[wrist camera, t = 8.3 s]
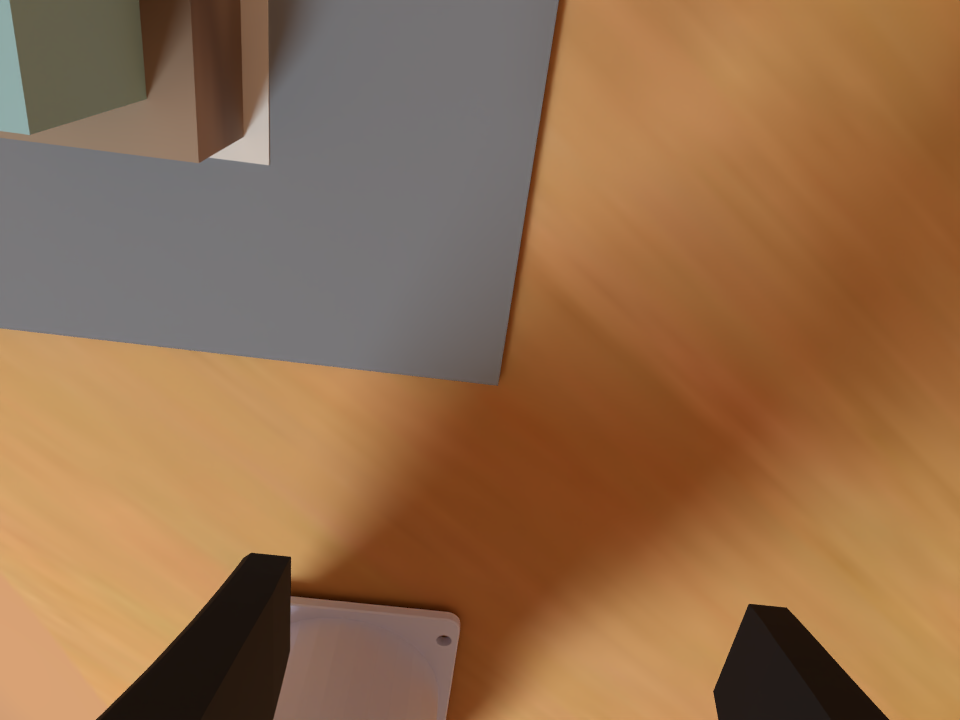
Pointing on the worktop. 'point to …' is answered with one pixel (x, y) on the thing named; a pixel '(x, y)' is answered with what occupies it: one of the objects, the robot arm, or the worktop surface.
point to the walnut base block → (173, 88)
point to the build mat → (307, 199)
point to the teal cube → (67, 61)
